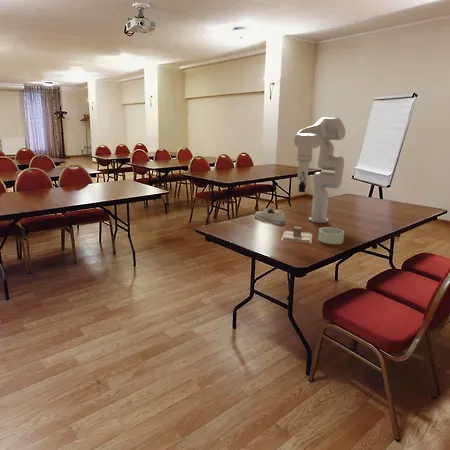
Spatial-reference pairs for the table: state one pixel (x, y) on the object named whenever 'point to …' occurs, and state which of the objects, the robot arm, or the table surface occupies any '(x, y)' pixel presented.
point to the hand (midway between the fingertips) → (302, 190)
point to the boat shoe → (271, 216)
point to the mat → (298, 241)
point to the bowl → (331, 235)
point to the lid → (297, 235)
